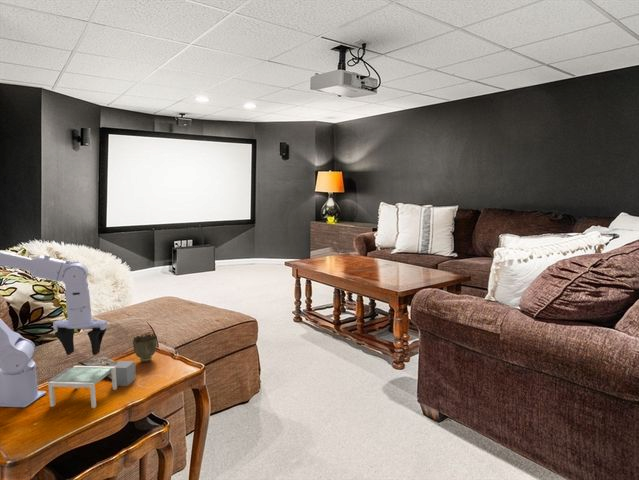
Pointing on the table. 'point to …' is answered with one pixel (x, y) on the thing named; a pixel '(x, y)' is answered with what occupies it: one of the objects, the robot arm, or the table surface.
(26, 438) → the table surface
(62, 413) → the table surface
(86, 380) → the trapdoor plate
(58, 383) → the miniature coffee table
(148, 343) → the cup
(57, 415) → the table surface
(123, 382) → the stone block
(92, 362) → the stone fragment
